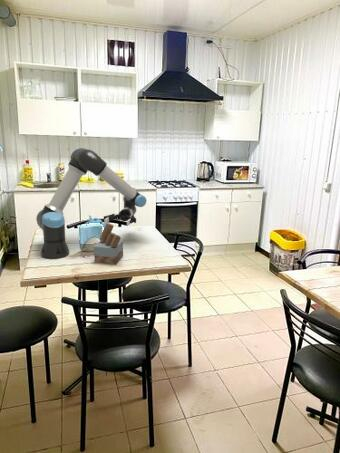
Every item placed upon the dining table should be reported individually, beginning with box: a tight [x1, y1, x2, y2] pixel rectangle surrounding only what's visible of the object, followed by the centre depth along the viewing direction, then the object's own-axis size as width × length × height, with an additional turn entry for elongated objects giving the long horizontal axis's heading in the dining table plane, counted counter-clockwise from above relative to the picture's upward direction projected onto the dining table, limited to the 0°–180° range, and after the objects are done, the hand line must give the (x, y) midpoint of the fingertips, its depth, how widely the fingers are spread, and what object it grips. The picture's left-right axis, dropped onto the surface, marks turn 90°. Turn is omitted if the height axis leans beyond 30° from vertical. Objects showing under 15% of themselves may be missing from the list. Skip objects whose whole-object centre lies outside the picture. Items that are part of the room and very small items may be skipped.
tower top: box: [92, 240, 124, 258], centre depth 189 cm, size 12×14×5 cm
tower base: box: [94, 249, 124, 266], centre depth 191 cm, size 12×14×5 cm
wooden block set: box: [99, 222, 122, 248], centre depth 189 cm, size 18×9×10 cm, turn 23°
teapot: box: [84, 215, 106, 228], centre depth 239 cm, size 15×15×10 cm
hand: (116, 222), depth 199 cm, fingers open, 13 cm apart
